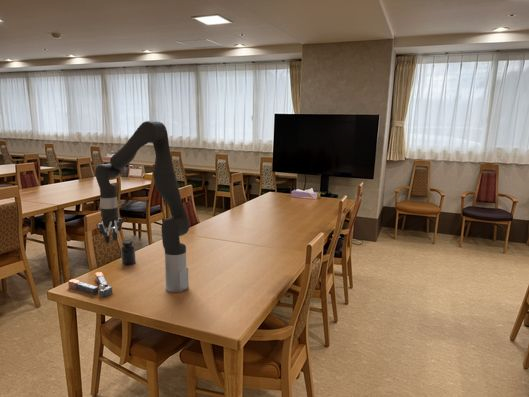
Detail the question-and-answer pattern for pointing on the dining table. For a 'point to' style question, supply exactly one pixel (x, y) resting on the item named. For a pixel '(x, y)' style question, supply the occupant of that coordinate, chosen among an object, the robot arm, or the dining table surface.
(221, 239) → the dining table surface
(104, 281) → the tong arm
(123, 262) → the supplement bottle
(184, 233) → the robot arm
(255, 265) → the dining table surface
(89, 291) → the tongs fixed
